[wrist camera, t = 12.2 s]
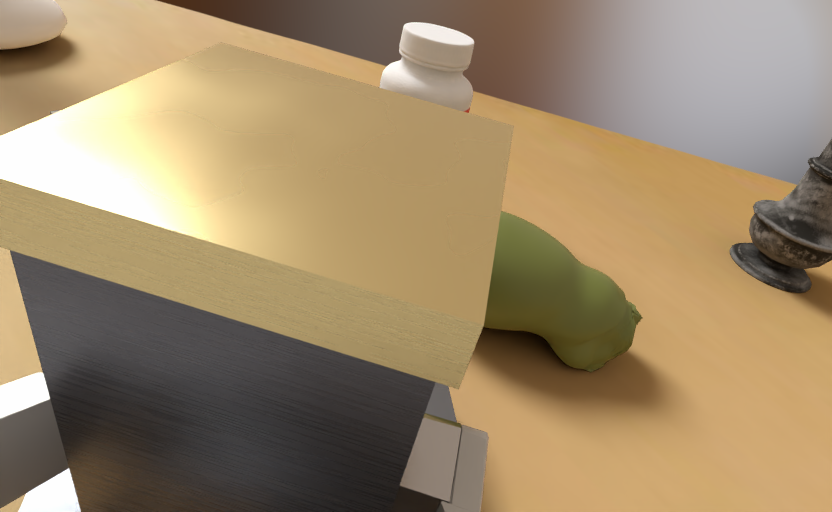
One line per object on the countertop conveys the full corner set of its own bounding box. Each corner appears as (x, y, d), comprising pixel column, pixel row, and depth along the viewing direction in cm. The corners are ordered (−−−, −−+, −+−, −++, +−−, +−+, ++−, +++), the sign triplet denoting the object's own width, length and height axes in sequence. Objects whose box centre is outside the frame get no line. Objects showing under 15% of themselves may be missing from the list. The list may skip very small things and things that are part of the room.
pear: (469, 172, 26) (654, 264, 26) (427, 253, 29) (593, 335, 29) (445, 226, 21) (671, 338, 21) (398, 317, 24) (597, 414, 24)
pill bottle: (450, 217, 33) (497, 58, 28) (363, 205, 32) (394, 37, 27) (438, 174, 38) (477, 29, 32) (362, 163, 36) (388, 11, 31)
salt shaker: (785, 251, 40) (903, 92, 33) (833, 303, 35) (984, 130, 28) (711, 235, 39) (816, 71, 32) (750, 286, 34) (883, 106, 27)
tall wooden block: (321, 737, 11) (483, 326, 4) (105, 662, 11) (-57, 161, 5) (380, 520, 15) (513, 125, 8) (218, 467, 15) (221, 42, 9)
